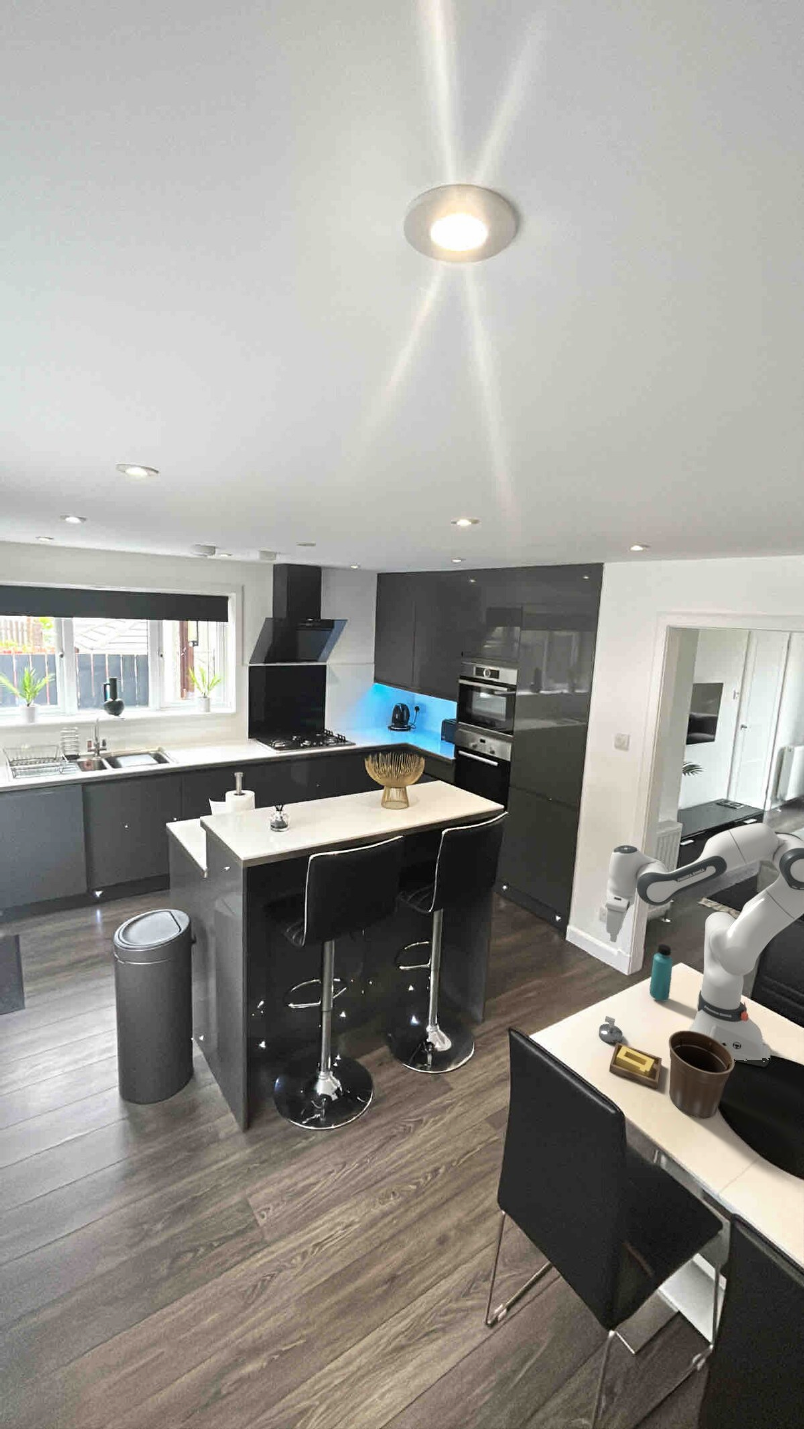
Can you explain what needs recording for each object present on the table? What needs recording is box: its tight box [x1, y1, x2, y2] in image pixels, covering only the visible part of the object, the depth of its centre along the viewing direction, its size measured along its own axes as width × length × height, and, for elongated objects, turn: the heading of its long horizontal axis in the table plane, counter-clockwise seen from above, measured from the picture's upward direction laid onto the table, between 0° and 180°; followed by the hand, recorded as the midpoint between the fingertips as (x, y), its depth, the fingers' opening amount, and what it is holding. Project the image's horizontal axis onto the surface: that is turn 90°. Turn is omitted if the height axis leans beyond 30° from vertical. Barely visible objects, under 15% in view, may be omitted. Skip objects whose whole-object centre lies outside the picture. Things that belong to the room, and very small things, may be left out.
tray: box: [608, 1043, 663, 1090], centre depth 183 cm, size 13×11×2 cm
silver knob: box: [598, 1015, 624, 1046], centre depth 195 cm, size 7×7×6 cm
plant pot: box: [668, 1030, 735, 1120], centre depth 170 cm, size 16×16×16 cm
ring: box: [616, 1046, 654, 1077], centre depth 183 cm, size 7×9×3 cm
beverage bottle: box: [649, 943, 674, 1002], centre depth 214 cm, size 6×7×20 cm
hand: (616, 934), depth 201 cm, fingers open, 8 cm apart
